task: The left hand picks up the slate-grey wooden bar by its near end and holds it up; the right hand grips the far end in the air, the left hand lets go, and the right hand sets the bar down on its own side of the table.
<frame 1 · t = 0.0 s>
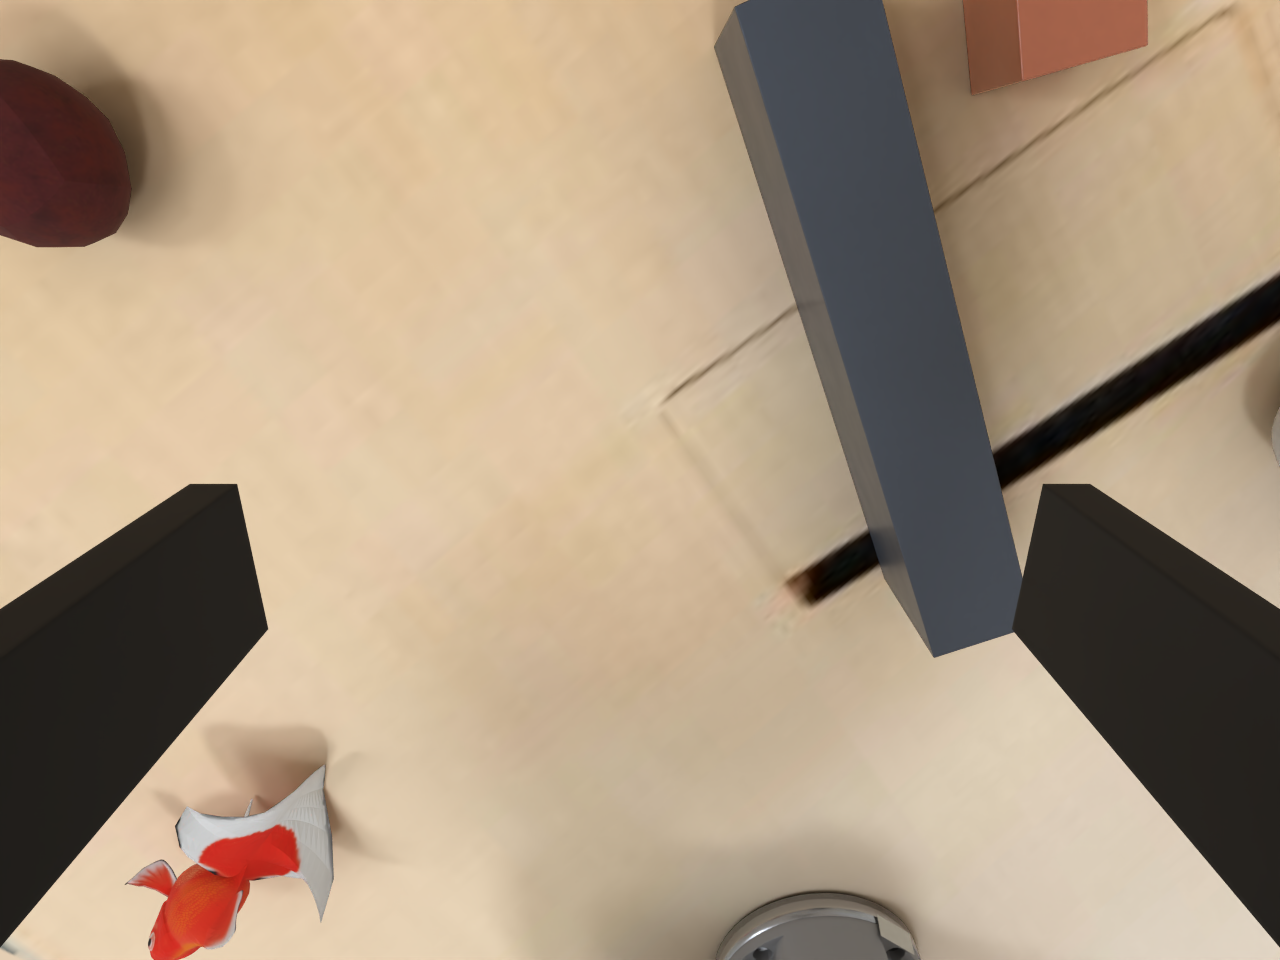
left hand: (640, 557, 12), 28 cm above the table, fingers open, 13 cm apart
terracotta block: (1021, 20, 34), on the table
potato: (89, 163, 36), on the table
fish: (266, 811, 51), on the table
bar: (855, 329, 39), on the table
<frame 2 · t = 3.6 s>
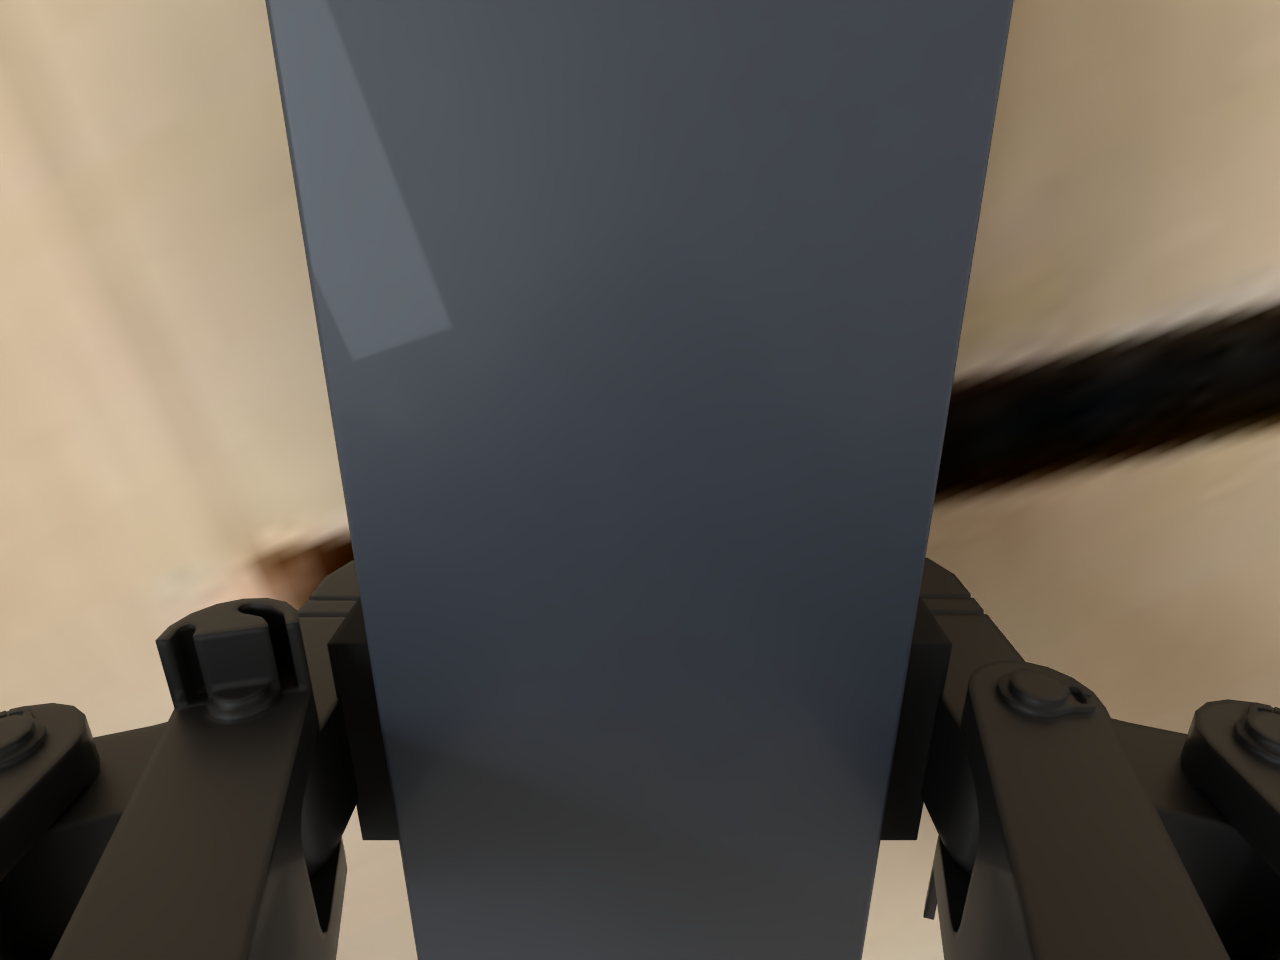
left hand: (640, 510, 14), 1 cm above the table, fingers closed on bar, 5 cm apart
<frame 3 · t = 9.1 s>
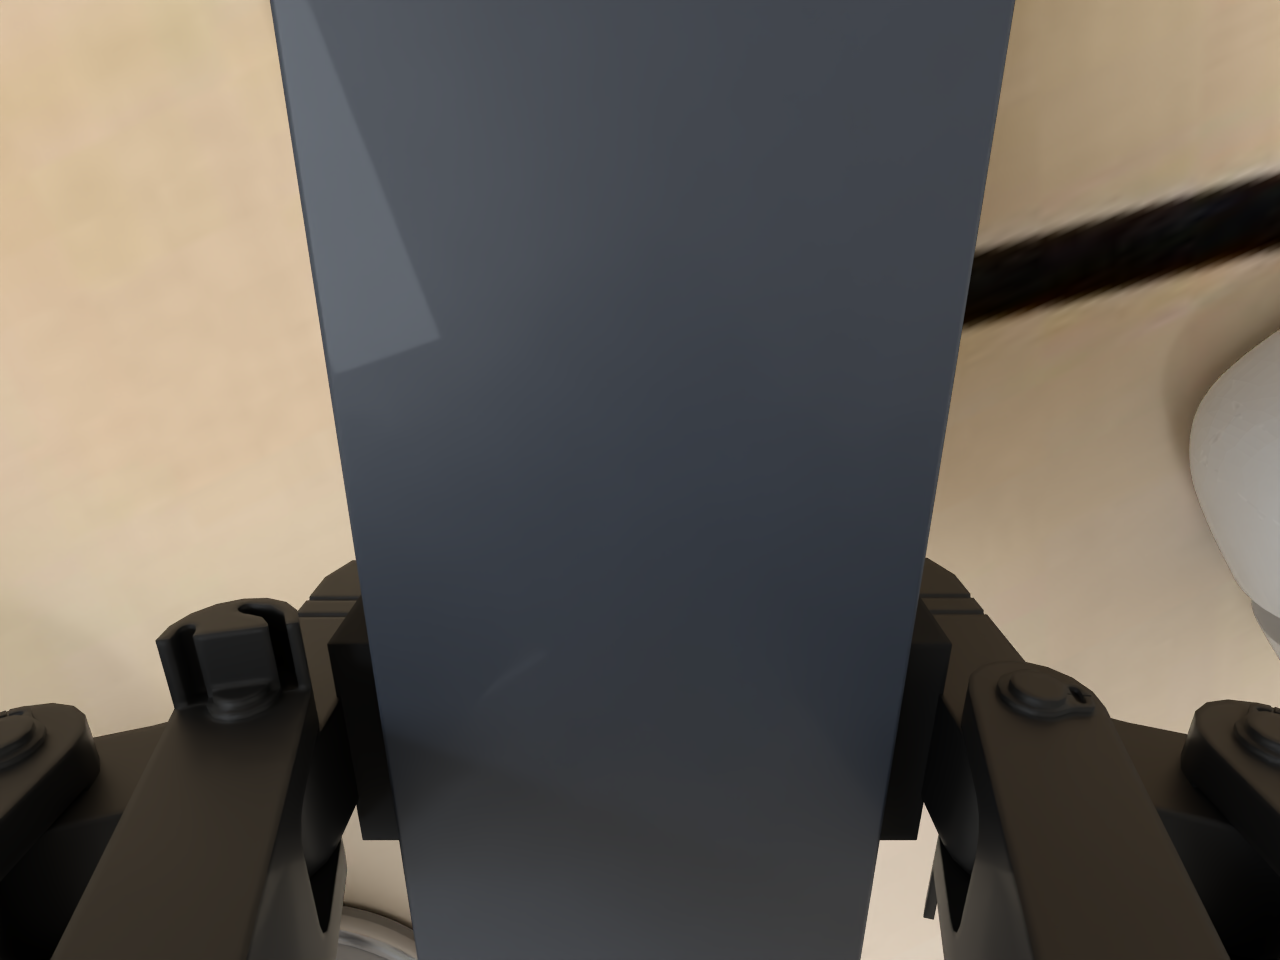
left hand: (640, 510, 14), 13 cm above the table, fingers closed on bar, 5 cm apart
when the left hand's fingers open (13 cm above the table, at t = 9.9 s): bar stays where it is, held by the right hand.
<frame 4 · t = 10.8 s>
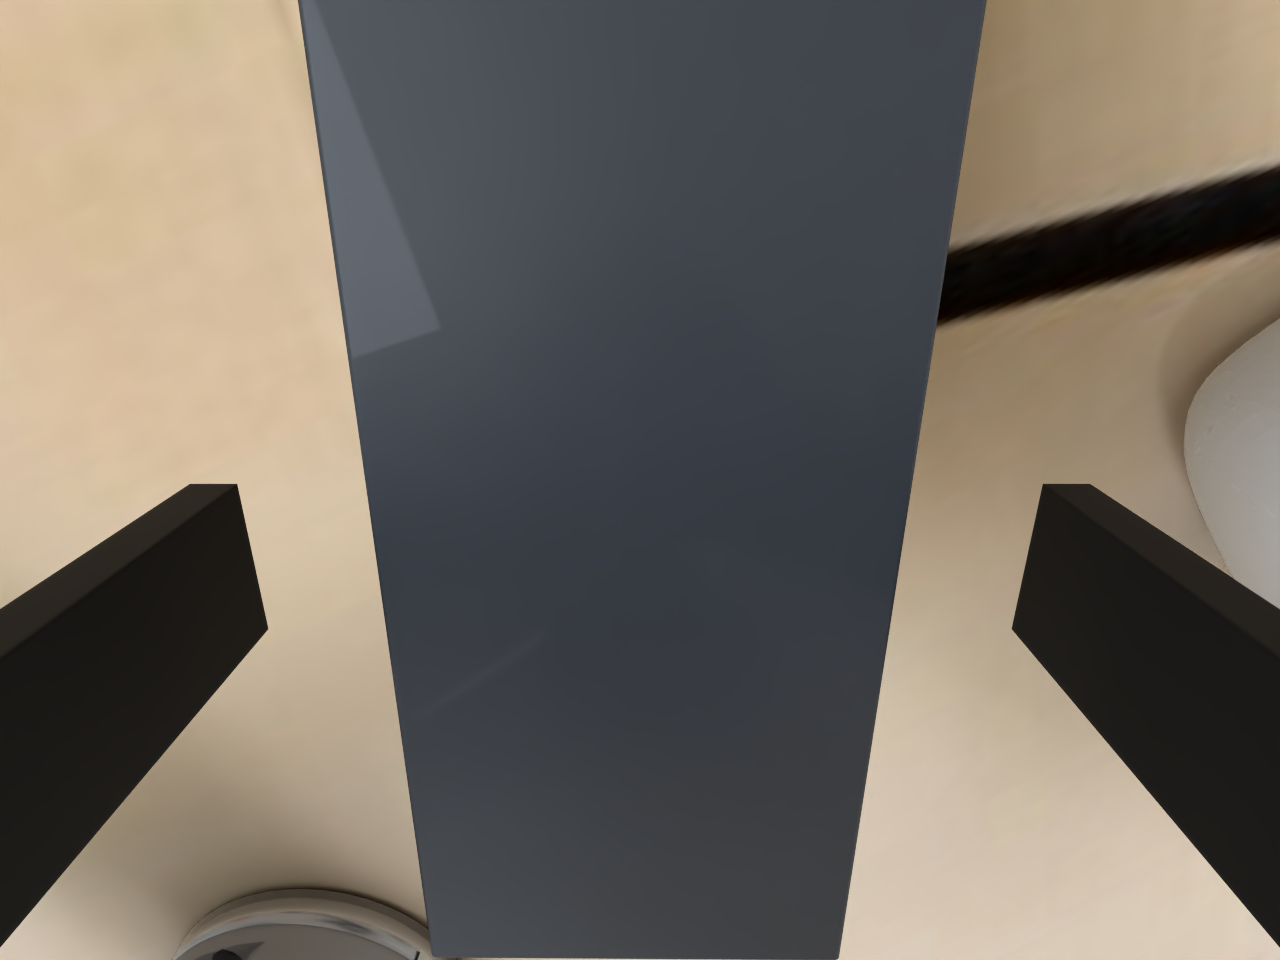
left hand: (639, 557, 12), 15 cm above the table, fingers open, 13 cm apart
when the right hand's fingers open (2 cm above the table, at t = 17.3 s): bar stays where it is, on the table.
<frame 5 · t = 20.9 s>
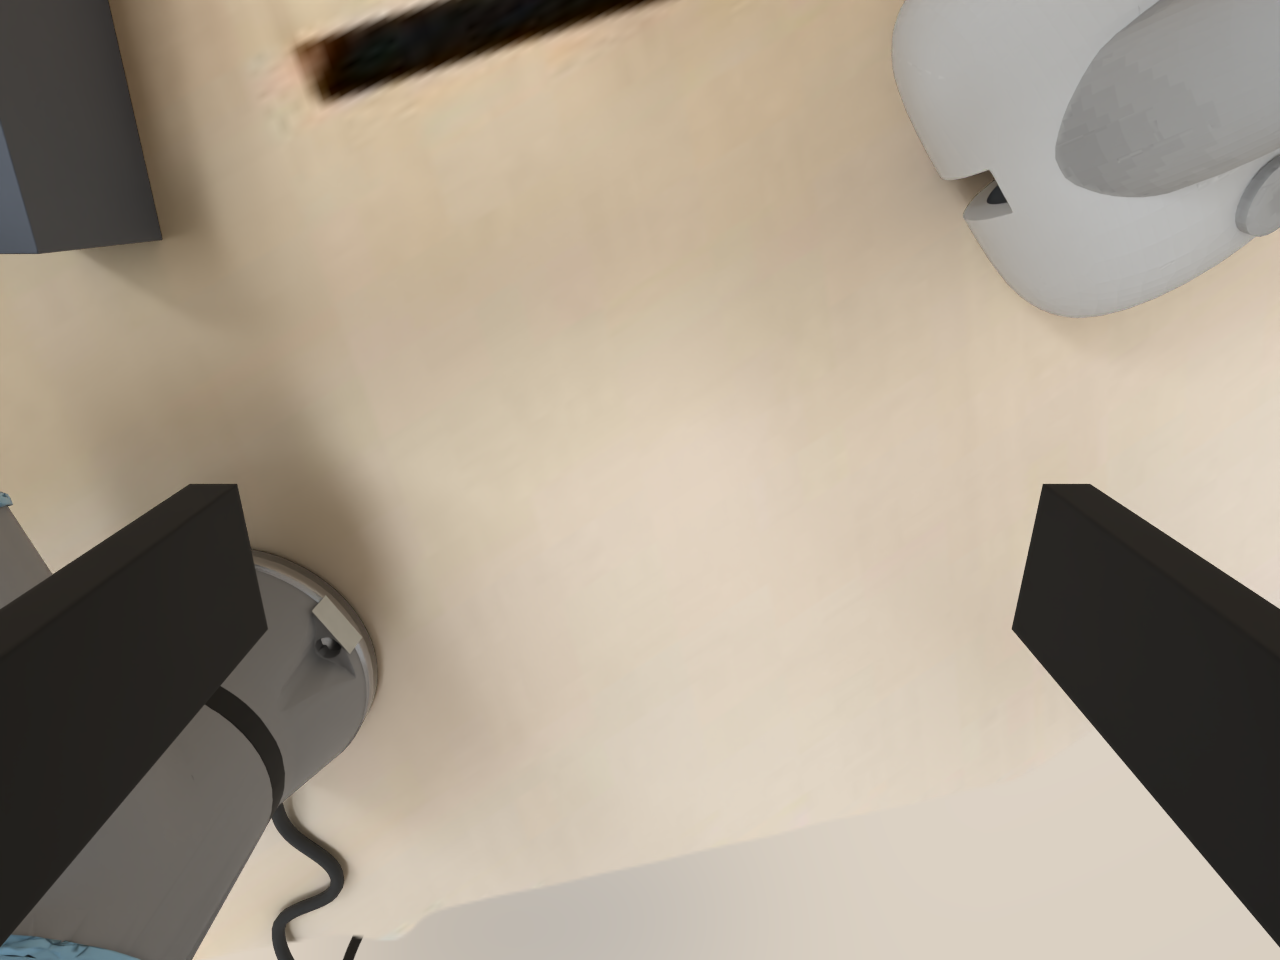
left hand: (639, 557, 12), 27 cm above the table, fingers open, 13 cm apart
projector: (1147, 21, 33), on the table
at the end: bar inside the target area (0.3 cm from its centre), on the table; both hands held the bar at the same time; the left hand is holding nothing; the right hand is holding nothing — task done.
